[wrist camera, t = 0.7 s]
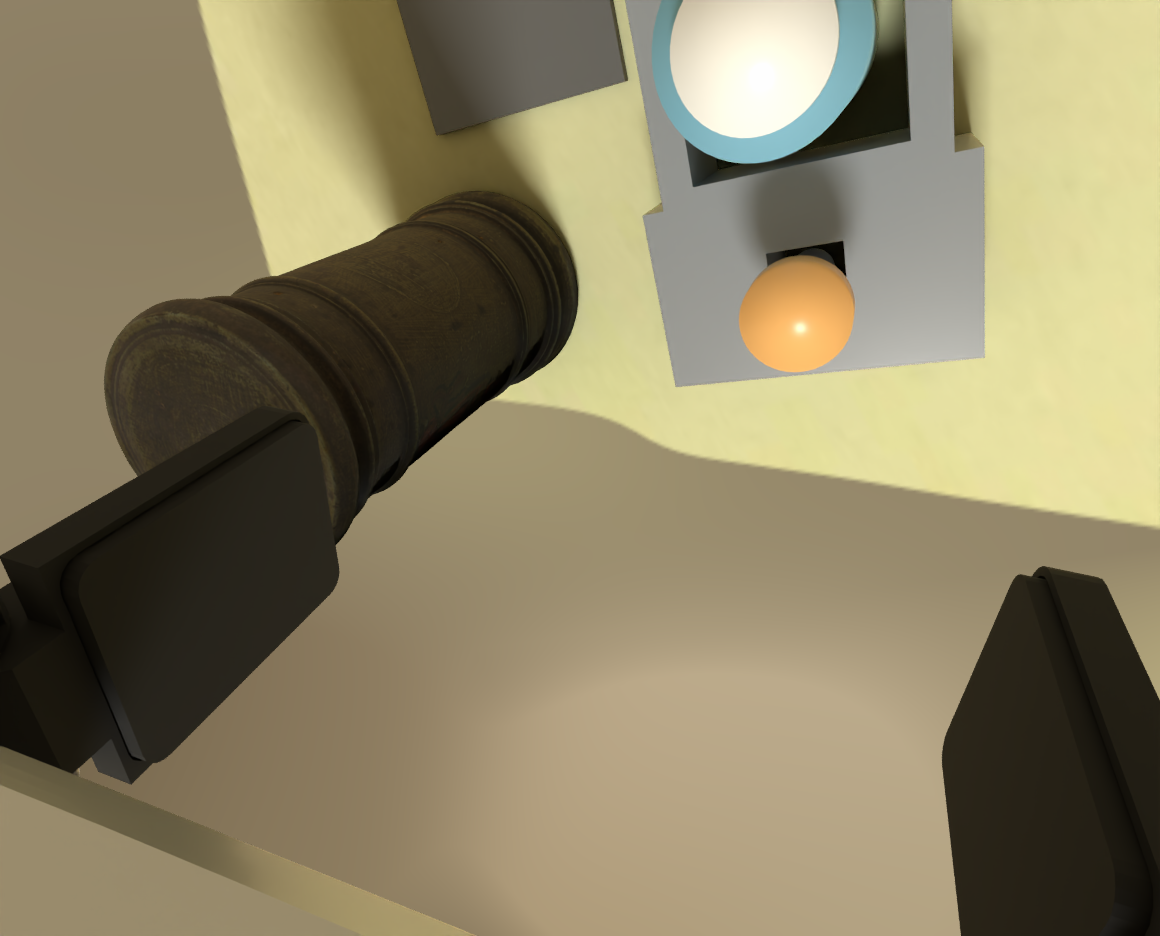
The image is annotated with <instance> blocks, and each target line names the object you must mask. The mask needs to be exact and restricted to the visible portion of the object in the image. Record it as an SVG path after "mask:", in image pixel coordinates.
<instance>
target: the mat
mask: <svg viewBox="0 0 1160 936" xmlns="http://www.w3.org/2000/svg"><path fill="white" fill-rule="evenodd" d="M397 3H398V6H399V10H400V13H401V17H402V20H403V23H404V27H405V30H406V34H407V37H408V40H409V44H410V47H411V50H412V54H413V57H414V61H415V64H416V67H417V71H418V74H419V78H420V81H421V84H422V88H423V91H424V95H425V98H426V101H427V105H428V108H429V111H430V115H431V118H432V122H433V125H434V128H435V132H436V135H441V134H445V133H448V132H452V131H455V130H459V129H462V128H466V127H469V126H473V125H476V124H480V123H483V122H486V121H490V120H493V119H497V118H500V117H504V116H507V115H511V114H514V113H518V112H521V111H525V110H528V109H531V108H535V107H538V106H542V105H545V104H549V103H552V102H556V101H559V100H563V99H566V98H570V97H573V96H576V95H580V94H583V93H587V92H590V91H594V90H597V89H601V88H604V87H608V86H611V85H615V84H618V83H621V82H625V81H628V78H627V73H626V68H625V63H624V57H623V52H622V47H621V41H620V36H619V31H618V25H617V20H616V15H615V9H614V4H613V0H397Z"/></svg>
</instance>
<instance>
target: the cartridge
mask: <svg viewBox="0 0 1160 936" xmlns="http://www.w3.org/2000/svg"><path fill="white" fill-rule="evenodd" d="M878 34H879V24H878V16H877V11H876V7H875V3H874V1H873V0H662V1H661V4H660V7H659V10H658V13H657V16H656V21H655V25H654V30H653V39H652V69H653V77H654V81H655V86H656V90H657V93H658V96H659V99H660V101H661V104H662V106H663V108H664V110H665V112H666V114H667V116H668V118H669V119H670V121H671V122H672V124H673V125H674V126H675V128H676V129H677V130H678V131H679V132H680V134H681V135H682V136H683V137H684V138H685V139H686V140H688V141H689V142H690V143H691V144H692V145H693V146H695V147H696V148H698V149H700V150H701V151H703V152H704V153H706V154H708V155H711V156H713V157H715V158H718V159H721V160H725V161H728V162H735V163H761V162H768V161H772V160H775V159H779V158H782V157H785V156H787V155H789V154H791V153H794V152H796V151H798V150H799V149H801V148H803V147H804V146H806V145H808V144H809V143H811V142H812V141H813V140H815V139H816V138H817V137H818V136H820V135H821V134H822V133H823V132H824V131H825V130H826V129H827V128H828V127H829V126H830V125H831V124H832V123H833V122H834V121H835V120H836V118H837V117H838V116H839V115H840V113H841V112H842V111H843V110H844V109H845V107H846V106H847V105H848V104H849V102H850V101H851V100H852V99H853V97H854V96H855V95H856V94H857V92H858V91H859V89H860V88H861V86H862V85H863V83H864V82H865V80H866V78H867V76H868V74H869V72H870V70H871V67H872V64H873V61H874V58H875V54H876V50H877V44H878Z"/></svg>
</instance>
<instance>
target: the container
mask: <svg viewBox="0 0 1160 936" xmlns="http://www.w3.org/2000/svg"><path fill="white" fill-rule="evenodd" d="M577 306H578V288H577V281H576V276H575V272H574V268H573V265H572V262H571V259H570V257H569V255H568V252H567V250H566V249H565V247H564V245H563V243H562V242H561V240H560V238H559V237H558V236H557V234H556V233H555V232H554V231H553V229H552V228H551V227H550V226H549V225H548V223H547V222H546V221H545V220H544V219H542V218H541V217H540V216H539V215H538V214H537V213H535V212H534V211H533V210H531V209H530V208H528V207H527V206H525V205H524V204H522V203H520V202H518V201H516V200H514V199H512V198H509V197H506V196H503V195H500V194H496V193H491V192H482V191H469V192H462V193H457V194H453V195H450V196H447V197H445V198H443V199H441V200H439V201H437V202H435V203H434V204H431V205H429V206H426V207H424V208H422V209H420V210H419V211H417V212H416V213H414V214H413V215H412V216H411V217H409V218H408V219H407V220H406V222H404V223H400V224H397V225H395V226H394V227H391V228H388V229H387V230H385V231H383V232H382V233H381V234H379V235H378V236H377V237H376V238H374V239H373V240H371V241H369V242H366V243H364V244H361V245H359V246H356V247H353V248H351V249H348V250H345V251H342V252H340V253H337V254H334V255H332V256H329V257H326V258H324V259H321V260H319V261H316V262H313V263H310V264H308V265H305V266H303V267H300V268H297V269H295V270H292V271H290V272H287V273H284V274H282V275H279V276H270V277H265V278H261V279H257V280H254V281H252V282H249V283H247V284H246V285H244V286H242V287H241V288H239V289H238V290H237V291H235V292H234V293H233V294H232V295H231V296H216V297H208V298H204V299H176V300H170V301H166V302H162V303H159V304H157V305H154V306H152V307H151V308H149V309H147V310H146V311H144V312H142V313H141V314H139V315H138V316H137V317H135V318H134V319H133V320H132V321H131V322H130V323H129V324H128V325H126V326H125V328H124V329H123V330H122V331H121V333H120V334H119V335H118V337H117V338H116V340H115V341H114V343H113V345H112V348H111V350H110V352H109V355H108V358H107V362H106V367H105V376H104V390H105V399H106V406H107V411H108V415H109V418H110V421H111V425H112V427H113V430H114V432H115V436H116V438H117V440H118V443H119V445H120V447H121V449H122V451H123V453H124V455H125V457H126V458H127V461H128V462H129V464H130V465H131V467H132V468H133V470H134V471H135V473H136V474H137V476H140V475H141V474H143V473H145V472H147V471H148V470H150V469H152V468H154V467H155V466H157V465H159V464H161V463H162V462H164V461H166V460H168V459H169V458H171V457H173V456H175V455H176V454H178V453H180V452H181V451H183V450H185V449H187V448H188V447H190V446H192V445H194V444H195V443H197V442H199V441H201V440H202V439H204V438H206V437H208V436H209V435H211V434H213V433H215V432H216V431H218V430H220V429H221V428H223V427H225V426H227V425H228V424H230V423H232V422H234V421H235V420H237V419H239V418H241V417H242V416H244V415H246V414H248V413H249V412H251V411H253V410H255V409H256V408H259V407H261V406H271V407H276V408H281V409H286V410H290V411H295V412H300V413H301V414H303V415H305V417H306V418H307V420H308V421H309V424H310V425H311V426H313V427H314V429H315V430H316V433H317V437H318V443H319V449H320V455H321V461H322V467H323V473H324V479H325V485H326V492H327V498H328V504H329V510H330V516H331V522H332V528H333V534H334V540H335V545H336V544H337V543H338V542H339V541H340V540H341V539H342V537H343V536H344V534H345V533H346V532H347V530H348V528H349V527H350V525H351V523H352V521H353V519H354V518H355V516H356V515H357V514H358V513H359V512H360V511H361V509H362V508H363V507H364V505H365V503H366V501H367V499H368V498H369V497H370V496H371V495H373V494H376V493H379V492H381V491H384V490H386V489H387V488H389V487H390V486H392V485H393V484H395V483H396V482H397V481H398V480H399V479H400V478H401V477H402V476H403V474H404V473H405V472H406V470H407V469H408V467H409V466H410V465H411V464H413V463H414V462H415V461H416V460H418V459H419V458H420V457H421V456H422V455H423V454H425V453H426V452H427V451H428V450H429V449H431V448H432V447H433V446H434V445H435V444H436V443H437V442H439V441H440V440H441V439H442V438H443V437H445V436H446V435H447V434H448V433H449V432H450V431H452V430H453V429H454V428H455V427H456V426H457V425H459V424H460V423H461V422H463V421H464V420H465V419H466V418H467V417H468V416H470V415H471V414H472V413H473V412H475V411H476V410H477V409H478V408H479V407H480V406H482V405H483V404H484V403H485V402H487V401H489V400H491V399H493V398H495V397H497V396H498V395H500V394H501V393H502V392H503V391H505V390H506V389H507V388H508V387H509V386H510V385H513V384H516V383H519V382H521V381H523V380H525V379H526V378H528V377H530V376H531V375H532V374H534V373H535V372H536V371H538V370H540V369H541V368H543V367H545V366H546V365H547V364H549V363H550V362H551V361H552V360H553V359H554V358H555V357H556V356H557V355H558V354H559V353H560V351H561V350H562V349H563V347H564V346H565V344H566V342H567V340H568V338H569V336H570V334H571V331H572V329H573V326H574V322H575V319H576V314H577Z"/></svg>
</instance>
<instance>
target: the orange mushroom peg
mask: <svg viewBox="0 0 1160 936" xmlns="http://www.w3.org/2000/svg"><path fill="white" fill-rule="evenodd" d="M854 313H855V298H854V293H853V290H852V287H851V285H850V283H849V281H848V279H847V278H846V276H845V275H844V274H843V273H842V272H841V271H840V270H839V269H838V268H837V267H836V266H835V263H834V261H833V258H832V257H831V256H830V255H829V254H828V253H827V252H825V251H824V250H821V249H814V248H813V249H808V250H805V251H803V252H801V253H800V254H799V255H798V256H791V257H786V258H783V259H781V260H778V261H776V262H774V263H772V264H771V265H769V266H768V267H766V268H765V269H764V270H763V271H762V272H761V273H760V274H759V275H758V276H757V277H756V279H755V280H754V282H753V283H752V285H751V286H750V288H749V290H748V291H747V293H746V295H745V297H744V299H743V301H742V304H741V307H740V313H739V328H740V332H741V336H742V338H743V341H744V343H745V345H746V347H747V348H748V349H749V351H750V352H751V353H752V354H753V355H754V356H755V357H756V358H757V359H758V360H759V361H761V362H762V363H764V364H765V365H767V366H769V367H771V368H774V369H777V370H780V371H785V372H804V371H809V370H813V369H816V368H818V367H821V366H823V365H824V364H826V363H828V362H829V361H831V360H832V359H833V358H834V357H836V356H837V355H838V354H839V353H840V351H841V350H842V349H843V348H844V346H845V344H846V343H847V341H848V339H849V337H850V334H851V331H852V327H853V320H854Z"/></svg>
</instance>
